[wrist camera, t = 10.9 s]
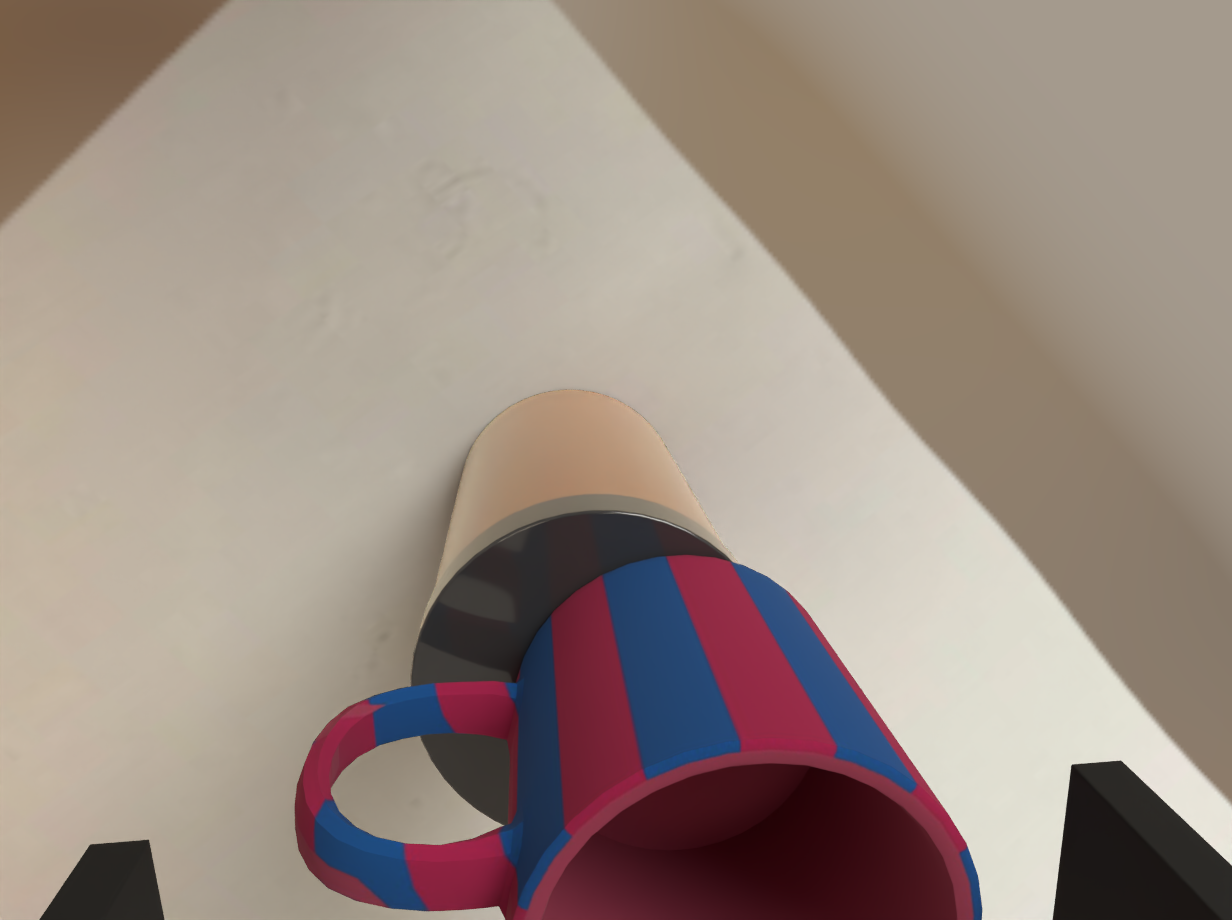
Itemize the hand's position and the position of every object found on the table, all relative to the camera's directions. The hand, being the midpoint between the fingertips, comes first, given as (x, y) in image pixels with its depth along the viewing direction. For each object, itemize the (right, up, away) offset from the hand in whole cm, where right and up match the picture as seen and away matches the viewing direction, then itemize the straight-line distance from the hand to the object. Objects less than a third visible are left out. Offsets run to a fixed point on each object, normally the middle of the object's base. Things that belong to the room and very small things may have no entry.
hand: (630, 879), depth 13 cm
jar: (-2, +5, +19) cm, 19 cm away
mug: (0, +2, +6) cm, 6 cm away
